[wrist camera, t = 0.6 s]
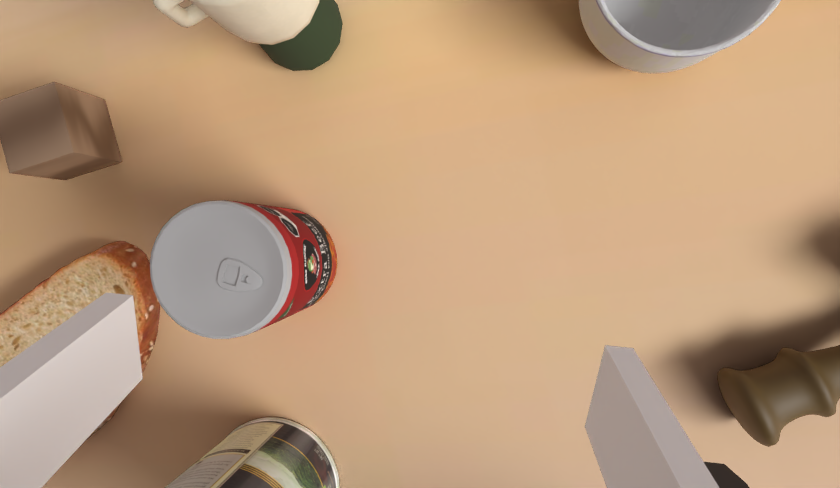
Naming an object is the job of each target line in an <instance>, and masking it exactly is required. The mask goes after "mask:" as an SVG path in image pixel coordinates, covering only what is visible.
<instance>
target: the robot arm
mask: <svg viewBox="0 0 840 488" xmlns="http://www.w3.org/2000/svg"><path fill="white" fill-rule="evenodd" d="M142 379H143V377H142V368H141V360H140V351H139V342H138V334H137V325H136V316H135V308H134V299H133V295H125V294H115V293H105V294H103V295H102V296H100V297H99V298H98V299H96V300H95V301H93V302H92V303H90V304H89V305H88V306H86V307H85V308H83V309H82V310H81V311H79V312H78V313H76V314H75V315H74V316H72V317H71V318H69V319H68V320H66V321H65V322H64V323H62V324H61V325H59V326H58V327H57V328H55V329H54V330H52V331H51V332H50V333H48V334H47V335H45V336H44V337H43V338H41V339H40V340H38V341H37V342H35V343H34V344H33V345H31V346H30V347H28V348H27V349H26V350H24V351H23V352H21V353H20V354H19V355H17V356H16V357H14V358H13V359H11V360H10V361H9V362H7V363H6V364H4V365H3V366H2V367H0V488H42V487H43V485H44V484H45V483H46V482H47V481H48V480H49V479H50V478H51V477H52V476H53V475H54V474H55V473H56V471H57V470H58V469H59V468H60V467H61V466H62V465H63V464H64V463H65V462H66V461H67V460H68V459H69V457H70V456H71V455H72V454H73V453H74V452H75V451H76V450H77V449H78V448H79V447H80V446H81V445H82V443H83V442H84V441H85V440H86V439H87V438H88V437H89V436H90V435H91V434H92V433H93V432H94V431H95V429H96V428H97V427H98V426H99V425H100V424H101V423H102V422H103V421H104V420H105V419H106V418H107V417H108V415H109V414H110V413H111V412H112V411H113V410H114V409H115V408H116V407H117V406H118V405H119V404H120V403H121V402H122V400H123V399H124V398H125V397H126V396H127V395H128V394H129V393H130V392H131V391H132V390H133V389H134V388H135V386H136V385H137V384H138V383H139V382H140V381H141V380H142ZM585 428H586V431H587V434H588V437H589V439H590V442H591V445H592V448H593V451H594V453H595V456H596V459H597V462H598V464H599V467H600V470H601V473H602V475H603V478H604V481H605V484H606V486H607V488H749V487H748V485H747V484H746V483H745V482H744V481H743V480H742V479H741V478H740V477H738V476H737V475H736V474H735V473H734V472H733V471H732V470H730V469H729V468H728V467H727V466H726V465H725V464H719V463H710V462H703V460H702V459H701V457H700V456H699V454H698V452H697V451H696V449H695V447H694V446H693V444H692V443H691V441H690V439H689V438H688V436H687V435H686V433H685V431H684V430H683V428H682V426H681V425H680V423H679V422H678V420H677V418H676V417H675V415H674V414H673V412H672V410H671V409H670V407H669V405H668V404H667V402H666V401H665V399H664V397H663V396H662V394H661V392H660V391H659V389H658V388H657V386H656V384H655V383H654V381H653V380H652V378H651V376H650V375H649V373H648V371H647V370H646V368H645V367H644V365H643V363H642V362H641V360H640V359H639V357H638V355H637V354H636V352H635V350H634V349H633V348H627V347H617V346H608V345H605V348H604V352H603V356H602V360H601V364H600V368H599V372H598V376H597V380H596V384H595V388H594V392H593V396H592V400H591V404H590V408H589V412H588V416H587V420H586V424H585Z"/></svg>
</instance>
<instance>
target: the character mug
mask: <svg viewBox="0 0 840 488" xmlns="http://www.w3.org/2000/svg"><path fill="white" fill-rule="evenodd" d="M183 1H184V0H153V3H154V5H155V7H156V8H157V9H158V10H159V11H161V12H162V13H163V14H165V15H166V16H167V17H169V18H170V19H172V20H173V21H175V22H176V23H177V24H179V25H180V26H182V27H186V28H188V27H191V26H194V25H196V24H197V23H199V22H200V21H202V20H204V19H205V18H207V17H211V18H212V19H213V20H214V21H216V22H217V23H218V24H219V25H220V26H222V27H223V28H224V29H225V30H227V31H228V32H230V33H232V34H234V35H236V36H238V37H240V38H242V39H243V40H245V41H248V42H251V43H259V45H260V46H261V47H262V48H263V49H264V51H265V52H266V53H267V54H268V55H269V56H270V58H271V59H272V60H273V61H274V62H275V63H276V64H279V65H281V66H283V67H286V68H288V69H290V70H292V71H297V70H313V69H314V68H316V67H318V66H320V65H321V64H323V63H325V62H326V61H328V60H329V59H330V57H331V56H332V54H333V53H334V51H335V50H336V48H337V47H338V45H339V43H340V37H341V30H342V20H341V16H340V12H339V8H338V5H337V3H336V2H335V1H334V0H190V1H191V2H192V3H193V4H192V5H190V6H188V7H186V8H183V7H181V6H180V5H179V4H180V3H181V2H183Z"/></svg>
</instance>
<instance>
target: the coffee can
mask: <svg viewBox="0 0 840 488" xmlns="http://www.w3.org/2000/svg"><path fill="white" fill-rule="evenodd" d="M165 488H339V477H338V472H337V468H336V465H335V462H334V460H333V457H332V455H331V453H330V452H329V450H328V448H327V447H326V445H325V444H324V443H323V442H322V441H321V440H320V438H319V437H318V436H316V435H315V434H314V433H313V432H312V431H310V430H309V429H308V428H306V427H304V426H303V425H301V424H299V423H296V422H294V421H291V420H288V419H284V418H275V417H267V418H259V419H255V420H252V421H249V422H247V423H245V424H243V425H241V426H239V427H237V428H236V429H234V430H233V431H232V432H231V433H230V434H229V435H228V436H227V437H226V438H225V439H224V440H223V441H222V442H220V443H219V444H218V445H217V446H215V447H214V448H213V449H212V450H210V451H209V452H208V453H207V454H206V455H204V456H203V457H202V458H201V459H200V460H198V461H197V462H196V463H195V464H193V465H192V466H191V467H189V468H188V469H187V470H186V471H185V472H183V473H182V474H181V475H180V476H178V477H177V478H176V479H175V480H173V481H172V482H171V483H170V484H168V485H167V486H166V487H165Z"/></svg>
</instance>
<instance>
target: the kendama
mask: <svg viewBox="0 0 840 488" xmlns="http://www.w3.org/2000/svg"><path fill="white" fill-rule="evenodd" d="M717 379H718V384H719V388H720V391H721V393H722V396H723V398H724V401H725V402H726V404H727V406H728V407H729V409H730V411H731V412H732V414H733V415H734V416H735V418H736V419H737V420H738V422H739V423H740V425H741V426H742V427H743V429H744V430H745V431H746V432H747V433H748V434H749V435H750V436H751V437H752V438H754V439H755V440H756V441H757V442H759V443H761V444H763V445H765V446H768V447H769V446H772V445H774V444H776V443H777V442H778V441H779V437H780V432H781V430H782V428H783V427H784V426H785V425H786V424H788V423H789V422H791V421H793V420H794V419H796V418H799V417H802V416H805V415H811V414H815V415H820V416H824V417H829V416H832V415H834V414H835V412H836V404H837V401H838V400H839V398H840V345H839V346H835V347H830V348H826V349H822V350H816V351H809V352H799V351H797V350H794V349H791V348H782V349H781V350H780V351H779V352H778V354H777V356H776V358H775V360H774V361H772V362H770V363H768V364H766V365H764V366H761V367H758V368H754V369H750V370H744V371H741V370H734V369H731V368H722V369H721V370H720V371H719V372H718V375H717Z"/></svg>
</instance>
